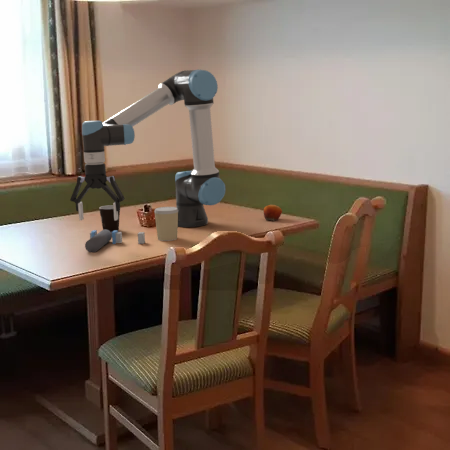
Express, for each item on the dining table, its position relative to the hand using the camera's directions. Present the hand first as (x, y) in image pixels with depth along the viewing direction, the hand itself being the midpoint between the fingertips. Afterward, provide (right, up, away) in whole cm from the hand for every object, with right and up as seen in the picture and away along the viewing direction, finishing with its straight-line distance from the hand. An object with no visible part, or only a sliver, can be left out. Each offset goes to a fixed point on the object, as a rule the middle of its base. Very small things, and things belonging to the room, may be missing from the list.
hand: (98, 219), depth 250 cm
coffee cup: (+25, -8, +12) cm, 29 cm away
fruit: (+68, 0, +43) cm, 81 cm away
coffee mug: (0, -4, +30) cm, 31 cm away
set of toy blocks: (+6, -9, +7) cm, 13 cm away
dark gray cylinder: (+1, -10, +2) cm, 10 cm away
